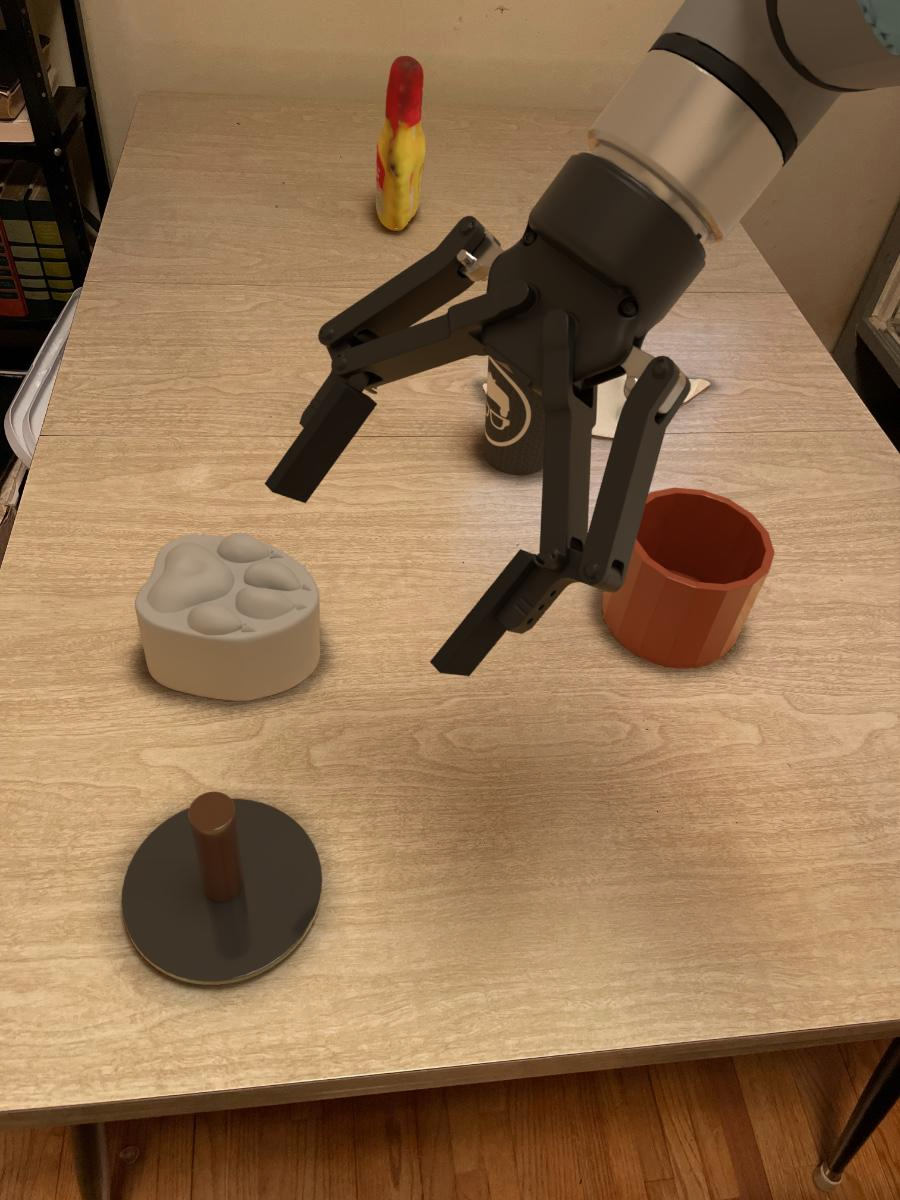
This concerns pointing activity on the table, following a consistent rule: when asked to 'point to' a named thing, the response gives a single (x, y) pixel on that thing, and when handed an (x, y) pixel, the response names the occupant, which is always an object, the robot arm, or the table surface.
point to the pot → (689, 578)
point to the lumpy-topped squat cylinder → (228, 618)
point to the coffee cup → (512, 423)
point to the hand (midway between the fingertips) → (361, 576)
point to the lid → (221, 890)
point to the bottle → (401, 146)
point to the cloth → (620, 403)
